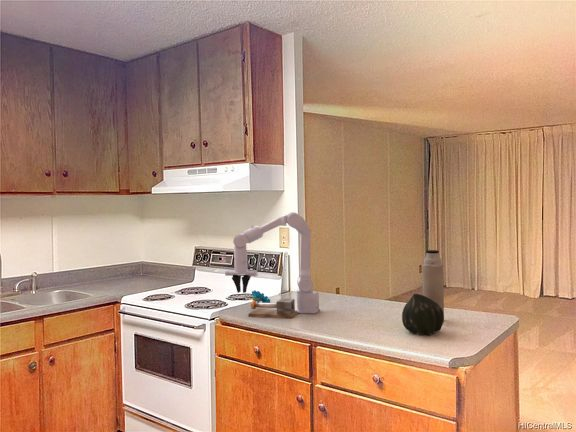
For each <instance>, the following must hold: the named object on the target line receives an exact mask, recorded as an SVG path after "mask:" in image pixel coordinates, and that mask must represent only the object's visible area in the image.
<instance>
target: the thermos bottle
mask: <svg viewBox="0 0 576 432" xmlns="http://www.w3.org/2000/svg"><path fill="white" fill-rule="evenodd" d="M439 253H440V251H439V250H437V249H428V250H426V251H425V254H426V255H425V258H424V259H423V263H422V264H421V267H422V268H421V269H422V272H421V273H422V295H423V296H425V297H428V298H430V299H431V300H433V301H434V302H436V303H437V304H438V305H439V306H440V307H441V308H442V311H443V314H444V315H445V303H444V302H445V301H444V299H445V296H444V295H445V294H444V289H445V288H444V287H445V285H444V264H442V258H440V254H439Z"/></svg>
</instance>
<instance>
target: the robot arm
mask: <svg viewBox="0 0 576 432" xmlns="http://www.w3.org/2000/svg"><path fill="white" fill-rule="evenodd" d="M287 225H288V226H289V227H291V228H292V229H294V230H296V231H297V232H298V233H299V234H300V236H299V237H300V240H299V241H300V242H299V245H300V246H299V272H298V277H297V281H296V283H297V286H298V289H296V304H297V305H296V308H297V309H296V310H297V311H298V313H297V314H317V313H318V312H319V310H320V297H319V292H318V291H314V289H313V281H312V278H311V277H312V275H311V249H312V248H311V246H312V245H311V243H312V242H311V240H312V239H311V238H312V235H311V234H312V231H311V228H310V226H309V225H308V223H307V222H306V220H305V219H304V217H303V216H302V215H301V214H298V213H297V212H296V211H295V212H294V211H292V212H289V213H288V214H284V215H281V216H278V217H276V218H274V219H273V220H271V221H269V222H267V223H265V224H263V225H260V226H259V225H255V226H254V225H251V226H250V228H249V229H246V230H245V231H244V230H243V231H241V233H239V234H236V235H235V237H234V238H233V241H232V243H233V245H234V247H233V249H234V251H233V258H234V260H233V262H234V263H233V264H234V265H233V266H234V270H226V271H224V276H227V277H229V276H232V277H231V280H232V281H233V283H234V285H235V289H236V292H237V294H238V293H241V291H242V294H245V293H246V292H247V289H248V284H249V282H250V280H251V278H252V277H258V275H259V274H258V273H259V271H257V270H254V271H253V270H249V269H248V250H247V244H251V243H253V242H255V241H258V240H259V239H261V238H263V236H264V234H265V233H267V232H269V231H271V230H274V229H275V228H278V227H280V226H282V227H286V226H287ZM241 282H242V288H241ZM241 289H242V290H241Z"/></svg>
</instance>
